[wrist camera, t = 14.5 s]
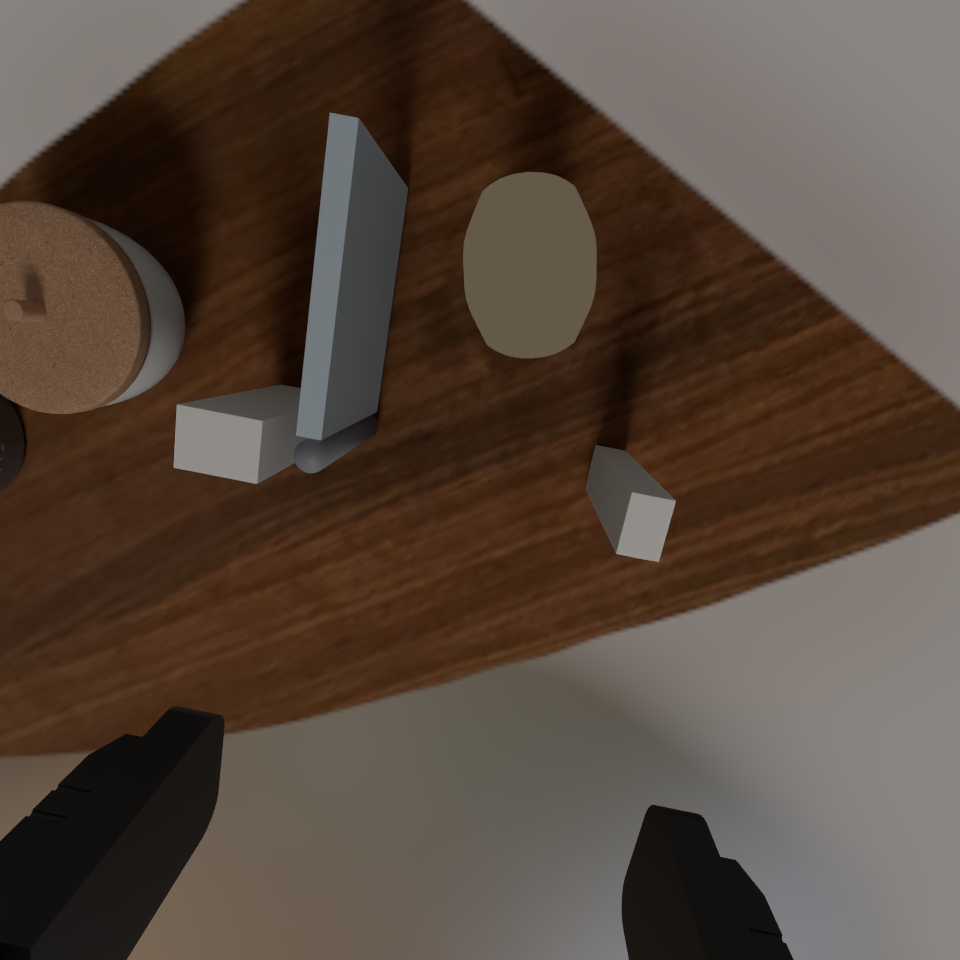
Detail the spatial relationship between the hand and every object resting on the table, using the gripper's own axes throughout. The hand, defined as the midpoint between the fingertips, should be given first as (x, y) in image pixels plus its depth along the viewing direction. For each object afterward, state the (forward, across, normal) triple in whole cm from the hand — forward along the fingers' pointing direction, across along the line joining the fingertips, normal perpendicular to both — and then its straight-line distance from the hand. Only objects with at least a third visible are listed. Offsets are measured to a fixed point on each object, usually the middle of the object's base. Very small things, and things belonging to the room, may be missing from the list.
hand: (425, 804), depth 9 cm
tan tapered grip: (+30, 0, -10) cm, 31 cm away
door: (+29, +8, -7) cm, 31 cm away
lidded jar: (+30, +24, -4) cm, 39 cm away
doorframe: (+30, +3, 0) cm, 30 cm away
